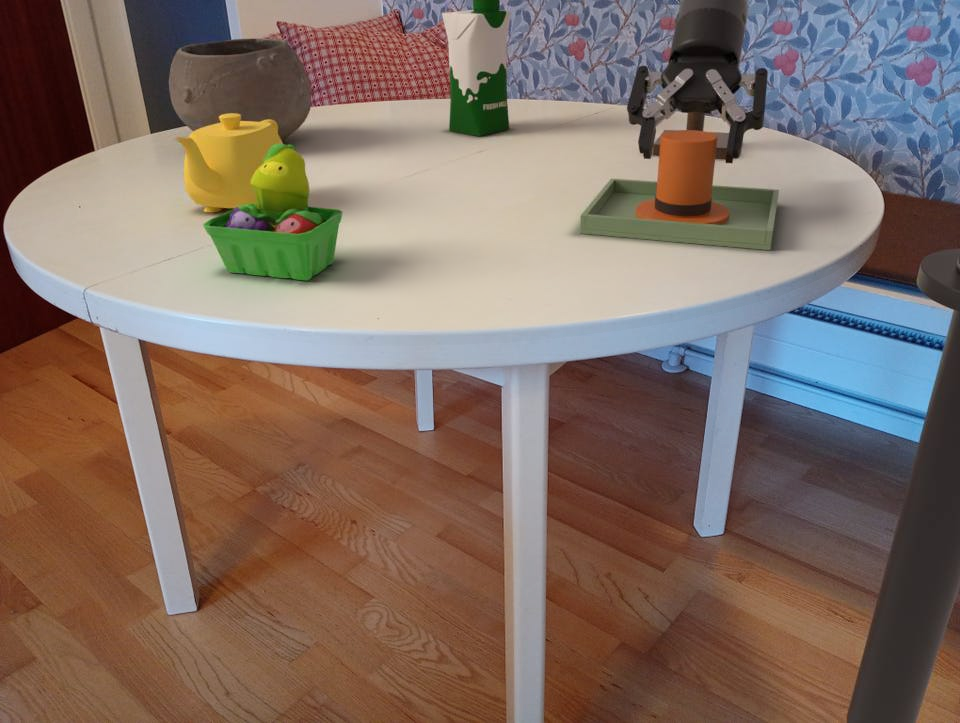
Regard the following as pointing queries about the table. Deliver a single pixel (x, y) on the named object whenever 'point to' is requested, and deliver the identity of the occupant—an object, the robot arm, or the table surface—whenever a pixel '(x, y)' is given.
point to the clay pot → (240, 83)
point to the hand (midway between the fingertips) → (686, 157)
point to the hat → (685, 180)
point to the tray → (742, 229)
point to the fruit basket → (277, 224)
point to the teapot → (226, 160)
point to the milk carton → (478, 68)
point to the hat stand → (697, 123)
